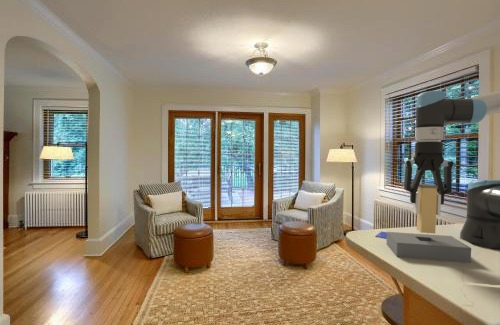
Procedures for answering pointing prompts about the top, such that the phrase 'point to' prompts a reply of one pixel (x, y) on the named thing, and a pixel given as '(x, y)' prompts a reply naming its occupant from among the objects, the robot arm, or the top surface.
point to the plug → (427, 208)
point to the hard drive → (382, 235)
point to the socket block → (428, 247)
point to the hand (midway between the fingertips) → (426, 213)
